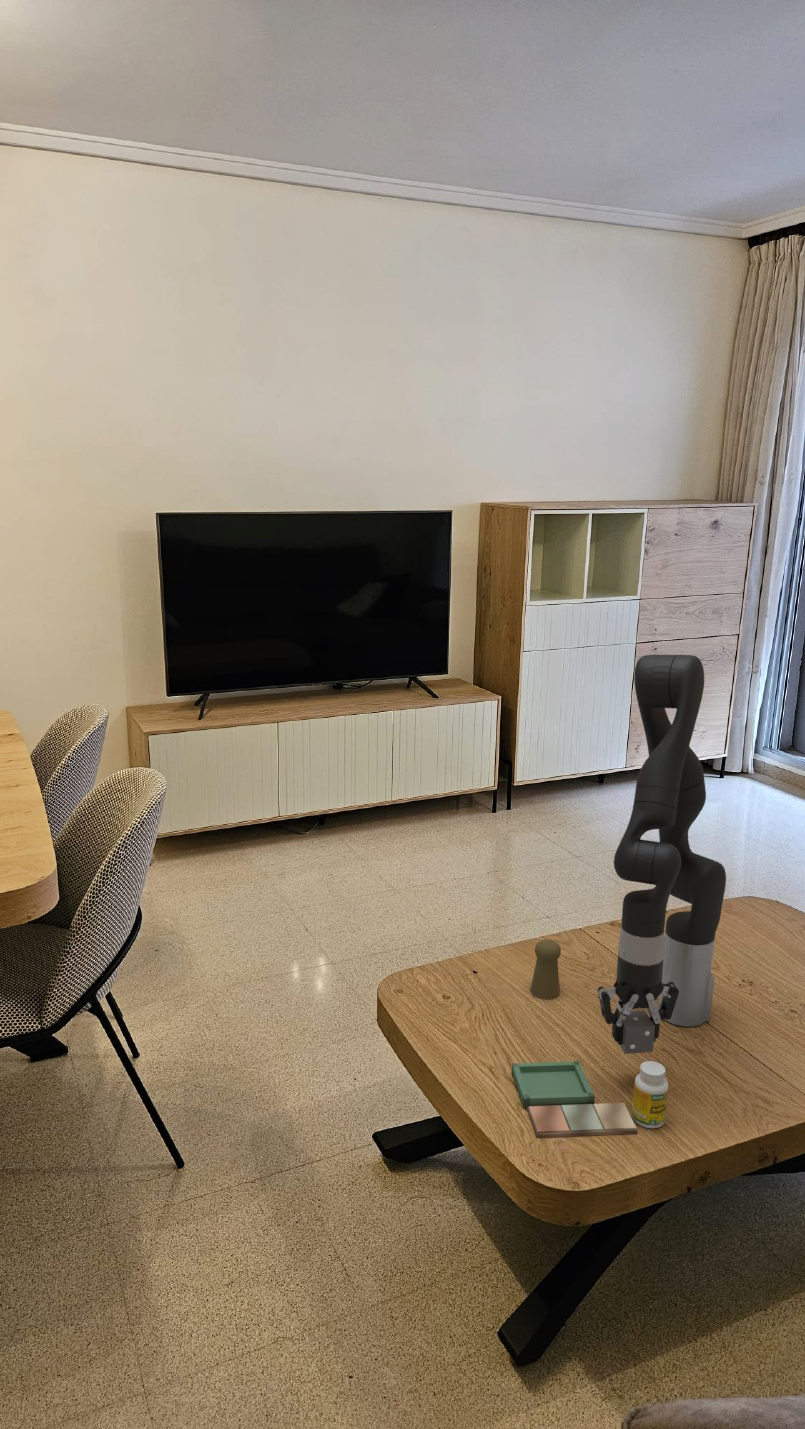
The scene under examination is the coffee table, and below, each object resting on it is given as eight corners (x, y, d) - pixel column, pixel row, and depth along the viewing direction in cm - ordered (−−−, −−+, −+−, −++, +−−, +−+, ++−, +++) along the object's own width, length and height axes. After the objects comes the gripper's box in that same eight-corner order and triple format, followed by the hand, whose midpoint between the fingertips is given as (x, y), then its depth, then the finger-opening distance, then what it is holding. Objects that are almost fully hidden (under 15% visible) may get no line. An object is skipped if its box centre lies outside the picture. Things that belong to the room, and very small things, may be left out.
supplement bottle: (647, 1104, 166) (652, 1054, 163) (671, 1122, 161) (677, 1070, 159) (624, 1115, 163) (629, 1064, 161) (648, 1133, 159) (654, 1081, 156)
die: (643, 1034, 173) (645, 1008, 172) (654, 1052, 168) (657, 1025, 167) (615, 1037, 173) (616, 1010, 171) (625, 1054, 168) (627, 1027, 166)
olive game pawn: (526, 995, 199) (529, 946, 197) (534, 981, 205) (537, 933, 202) (556, 1002, 197) (559, 952, 195) (563, 988, 203) (566, 939, 200)
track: (623, 1106, 165) (624, 1101, 165) (637, 1133, 159) (637, 1128, 158) (527, 1109, 164) (527, 1105, 163) (536, 1137, 157) (537, 1132, 157)
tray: (577, 1070, 175) (578, 1061, 174) (593, 1105, 165) (594, 1096, 165) (511, 1072, 174) (512, 1063, 173) (523, 1108, 164) (524, 1098, 164)
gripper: (673, 939, 170) (666, 1025, 175) (592, 944, 169) (587, 1031, 173) (690, 960, 163) (683, 1050, 168) (606, 966, 161) (601, 1056, 166)
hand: (634, 1040), depth 170 cm, fingers closed on die, 5 cm apart
